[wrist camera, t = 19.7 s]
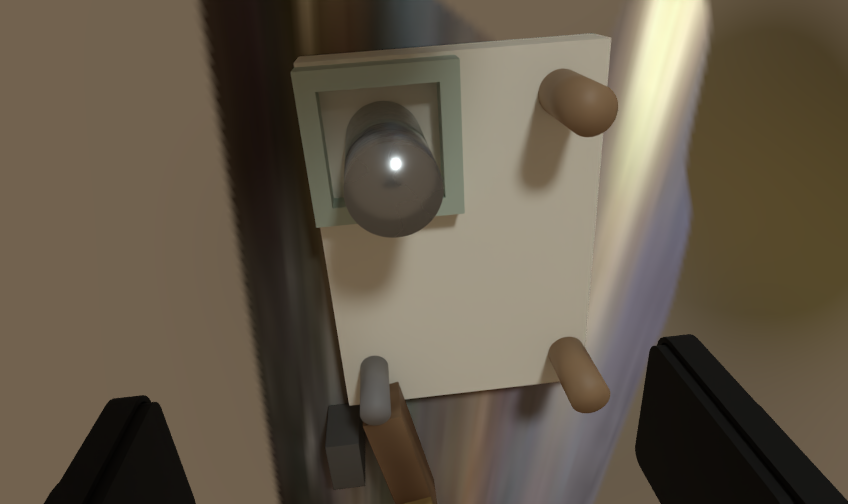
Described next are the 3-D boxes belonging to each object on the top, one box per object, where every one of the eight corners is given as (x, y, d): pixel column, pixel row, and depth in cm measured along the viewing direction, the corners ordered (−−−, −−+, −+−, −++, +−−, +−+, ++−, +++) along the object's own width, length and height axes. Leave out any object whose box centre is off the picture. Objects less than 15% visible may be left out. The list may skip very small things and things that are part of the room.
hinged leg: (398, 381, 36) (401, 423, 33) (433, 479, 40) (440, 525, 37) (363, 391, 36) (362, 433, 33) (402, 487, 41) (405, 534, 37)
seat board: (264, 59, 29) (237, 81, 23) (593, 33, 30) (652, 48, 24) (336, 446, 42) (331, 528, 36) (565, 418, 43) (600, 494, 37)
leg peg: (329, 142, 29) (322, 196, 22) (380, 84, 28) (390, 121, 21) (386, 189, 30) (397, 255, 23) (436, 136, 29) (464, 188, 22)
